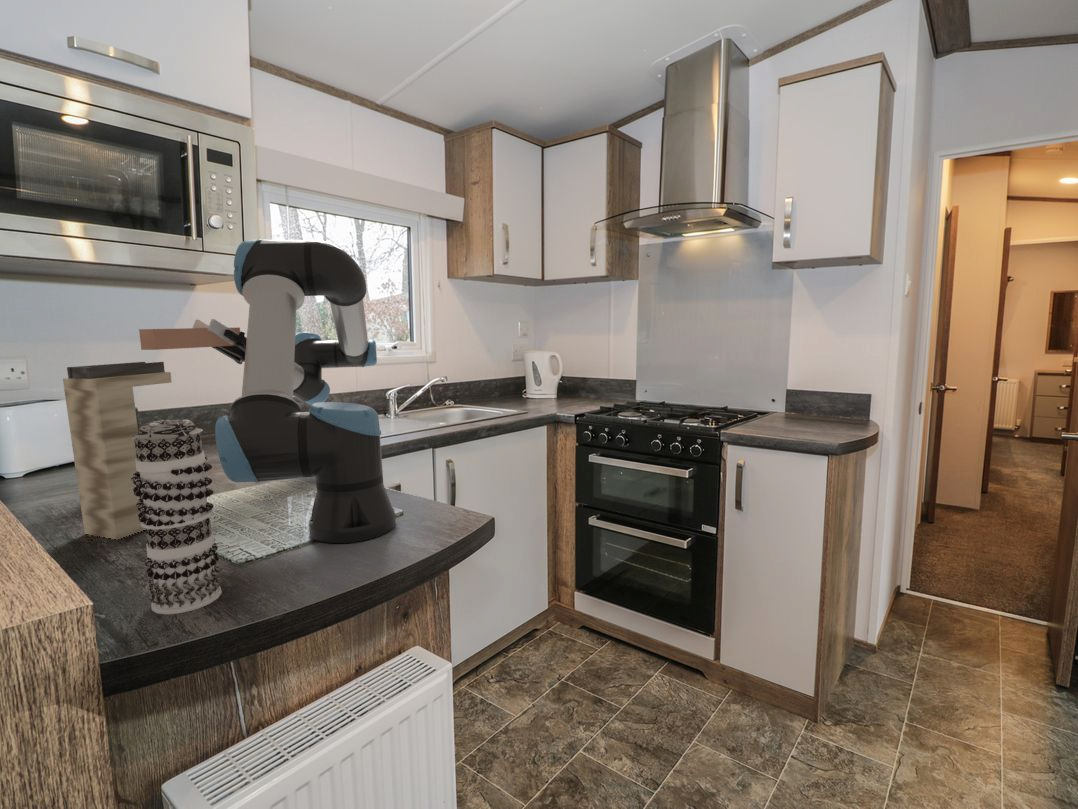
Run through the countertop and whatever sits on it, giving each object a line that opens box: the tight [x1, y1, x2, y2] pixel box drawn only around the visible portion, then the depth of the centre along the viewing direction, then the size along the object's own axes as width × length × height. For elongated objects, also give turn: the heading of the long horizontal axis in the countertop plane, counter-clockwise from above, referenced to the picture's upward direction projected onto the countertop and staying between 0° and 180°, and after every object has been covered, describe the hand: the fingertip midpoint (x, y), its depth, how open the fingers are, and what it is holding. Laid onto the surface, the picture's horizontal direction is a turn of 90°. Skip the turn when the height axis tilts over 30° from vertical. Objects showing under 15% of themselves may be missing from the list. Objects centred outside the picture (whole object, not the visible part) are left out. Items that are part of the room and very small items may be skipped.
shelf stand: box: [62, 361, 173, 541], centre depth 108 cm, size 9×14×31 cm, turn 159°
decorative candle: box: [131, 418, 223, 615], centre depth 78 cm, size 9×9×25 cm
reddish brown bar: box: [138, 327, 241, 351], centre depth 121 cm, size 4×20×4 cm, turn 159°
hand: (202, 324), depth 123 cm, fingers closed on reddish brown bar, 4 cm apart
